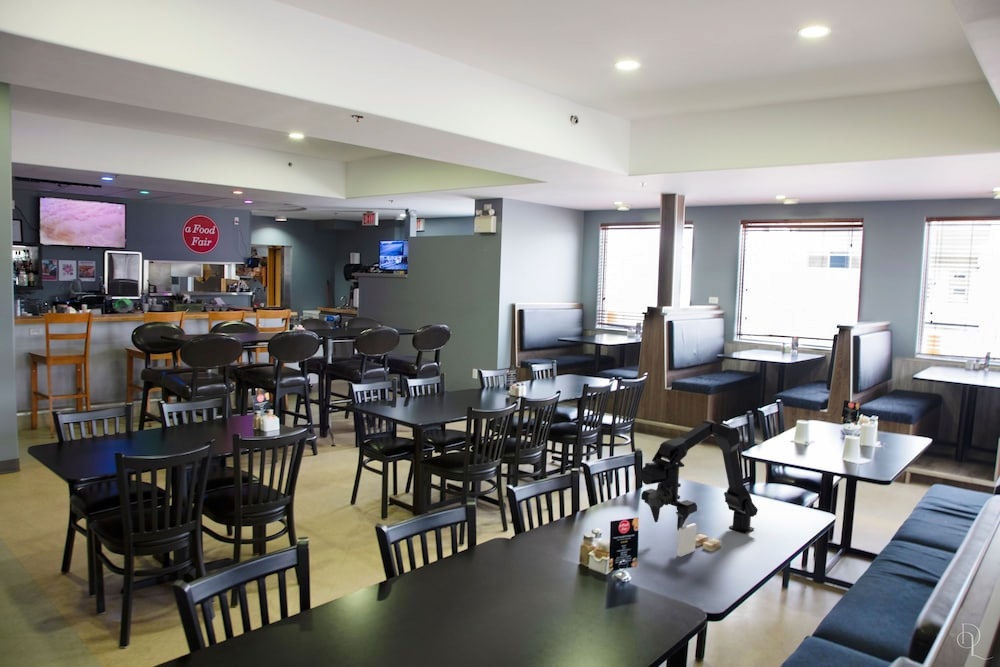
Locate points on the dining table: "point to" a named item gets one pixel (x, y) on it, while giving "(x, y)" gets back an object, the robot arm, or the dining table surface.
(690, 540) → the white board
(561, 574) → the dining table surface
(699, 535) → the oak holder
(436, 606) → the dining table surface
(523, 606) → the dining table surface
